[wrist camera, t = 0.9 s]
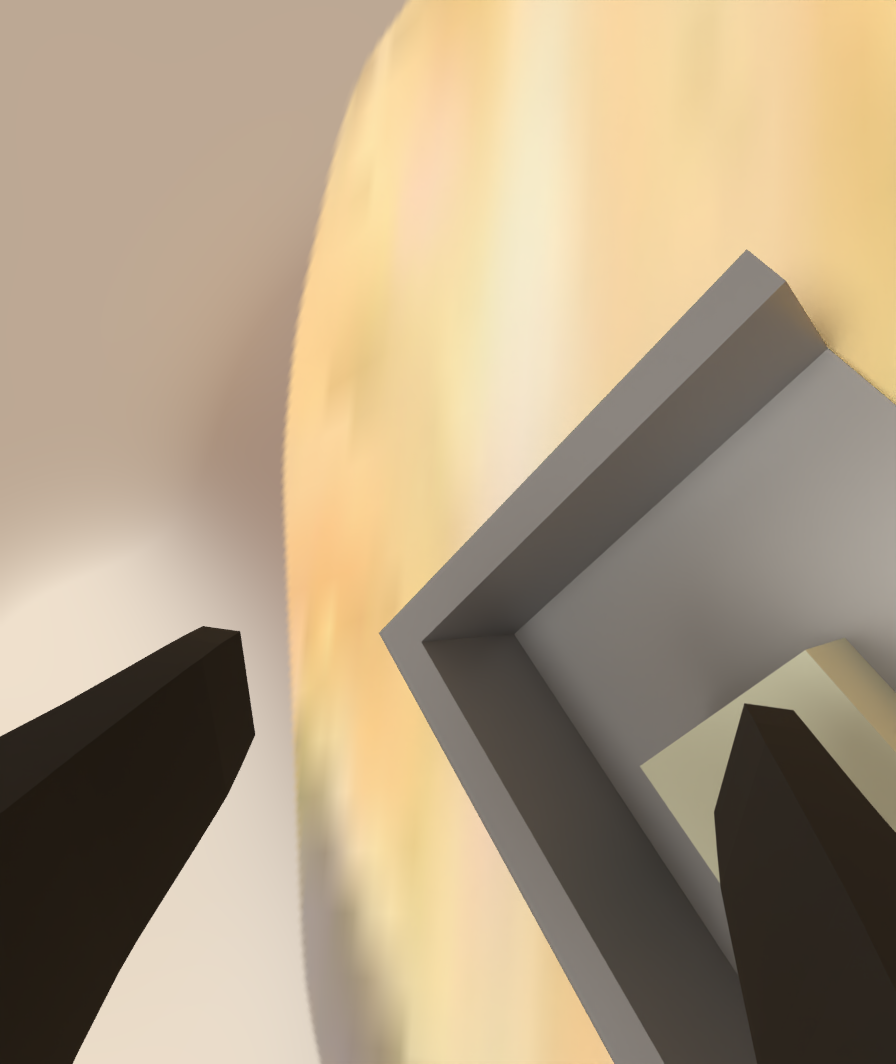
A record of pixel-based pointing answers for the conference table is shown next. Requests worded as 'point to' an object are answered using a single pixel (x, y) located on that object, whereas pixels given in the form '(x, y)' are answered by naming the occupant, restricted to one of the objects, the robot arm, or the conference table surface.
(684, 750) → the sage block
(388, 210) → the conference table surface
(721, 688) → the open box
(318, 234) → the conference table surface
